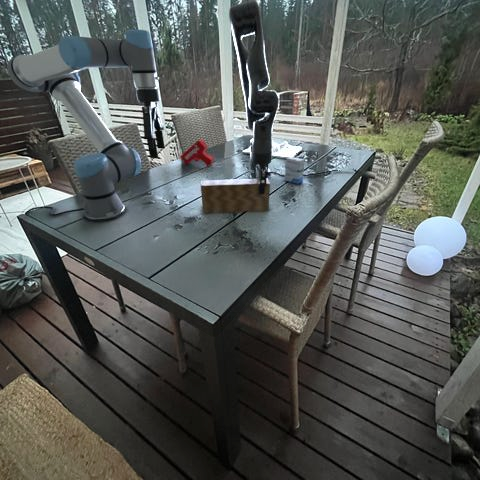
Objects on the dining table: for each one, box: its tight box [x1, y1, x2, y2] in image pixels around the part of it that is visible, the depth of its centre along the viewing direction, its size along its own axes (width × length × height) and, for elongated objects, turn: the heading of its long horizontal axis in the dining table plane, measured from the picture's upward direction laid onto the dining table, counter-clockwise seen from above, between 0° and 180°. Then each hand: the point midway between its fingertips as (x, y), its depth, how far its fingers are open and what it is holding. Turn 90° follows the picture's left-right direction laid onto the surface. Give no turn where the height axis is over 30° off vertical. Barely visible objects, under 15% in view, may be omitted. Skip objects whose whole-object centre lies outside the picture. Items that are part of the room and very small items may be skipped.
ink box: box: [284, 156, 306, 185], centre depth 140 cm, size 8×5×12 cm, turn 47°
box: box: [200, 177, 271, 214], centre depth 113 cm, size 28×6×12 cm, turn 94°
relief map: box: [242, 140, 304, 160], centre depth 192 cm, size 27×35×5 cm
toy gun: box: [179, 138, 215, 167], centre depth 167 cm, size 18×4×15 cm
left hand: (158, 152), depth 102 cm, fingers open, 13 cm apart
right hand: (260, 190), depth 113 cm, fingers open, 7 cm apart
